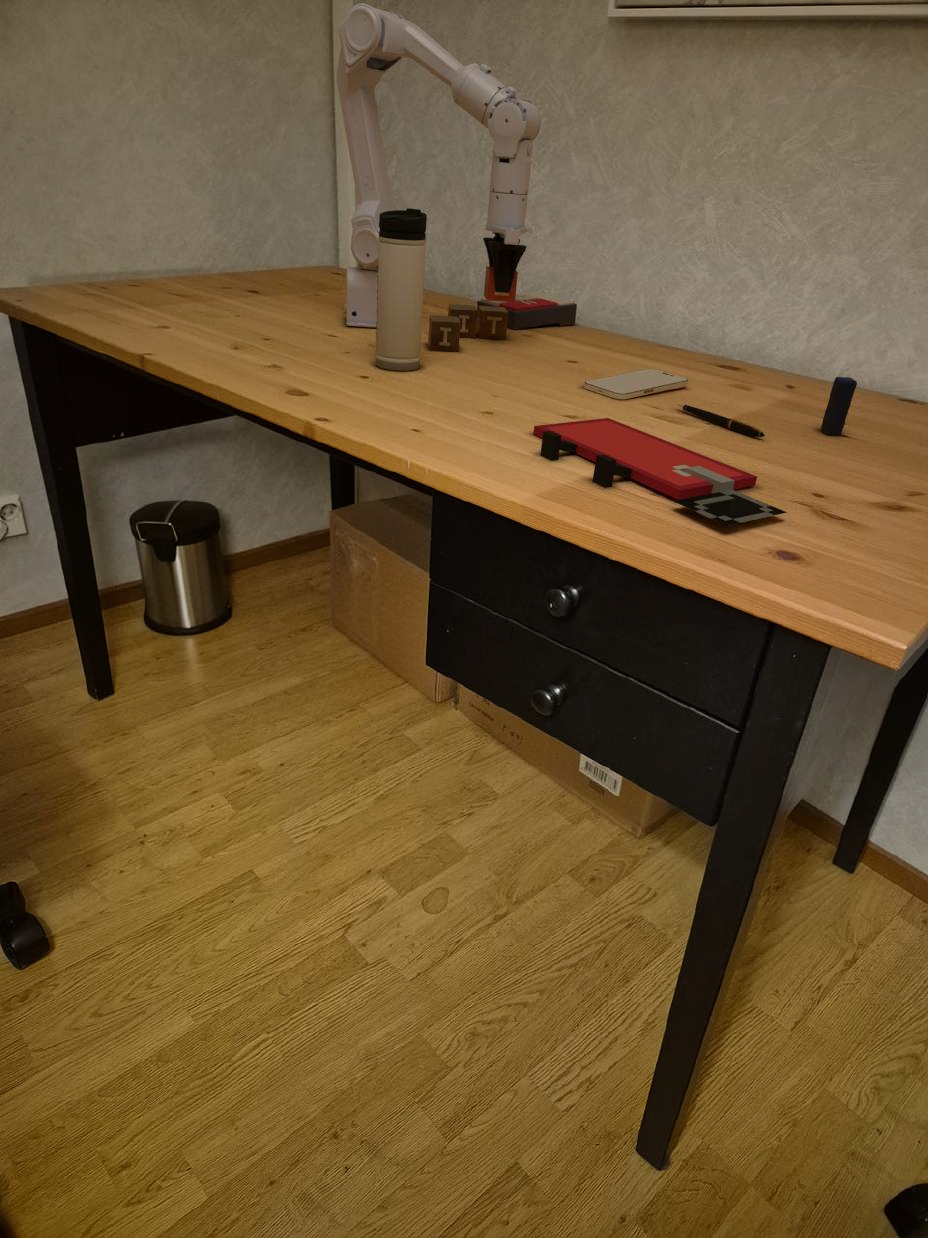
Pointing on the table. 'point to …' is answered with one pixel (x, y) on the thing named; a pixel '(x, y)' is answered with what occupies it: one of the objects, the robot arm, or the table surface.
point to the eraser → (838, 405)
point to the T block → (492, 322)
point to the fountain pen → (725, 421)
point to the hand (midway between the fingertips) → (500, 289)
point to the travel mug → (400, 289)
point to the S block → (490, 288)
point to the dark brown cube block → (465, 319)
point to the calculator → (535, 310)
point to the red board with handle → (657, 467)
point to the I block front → (444, 333)
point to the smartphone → (635, 383)
